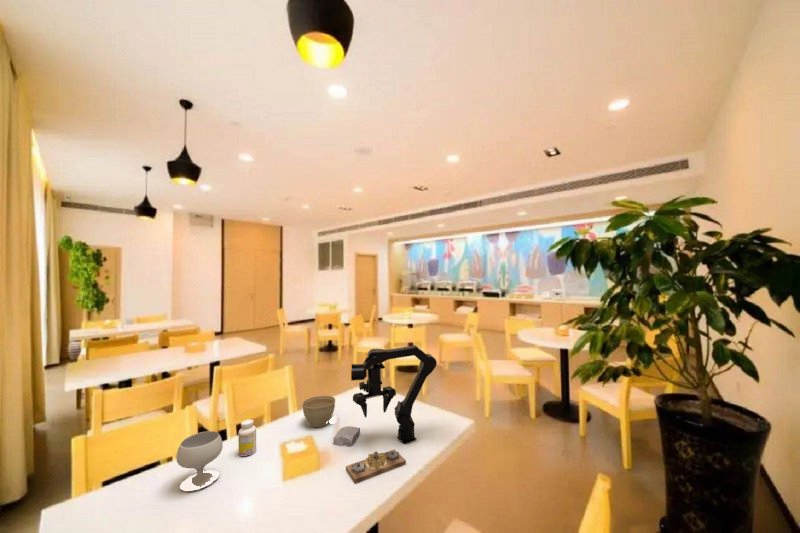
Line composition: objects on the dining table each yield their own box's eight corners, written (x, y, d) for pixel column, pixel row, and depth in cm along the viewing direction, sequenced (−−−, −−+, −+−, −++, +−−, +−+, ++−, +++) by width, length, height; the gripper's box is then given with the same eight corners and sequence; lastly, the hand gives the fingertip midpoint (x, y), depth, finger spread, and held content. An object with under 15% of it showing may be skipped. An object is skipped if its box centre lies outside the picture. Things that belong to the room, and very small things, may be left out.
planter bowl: (342, 420, 155) (342, 398, 155) (318, 434, 141) (317, 410, 141) (320, 413, 163) (320, 393, 164) (295, 426, 150) (295, 403, 150)
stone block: (332, 450, 131) (353, 447, 129) (330, 438, 132) (351, 435, 130) (342, 437, 143) (362, 434, 141) (340, 426, 143) (360, 423, 142)
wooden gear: (380, 455, 120) (380, 450, 120) (389, 464, 114) (388, 458, 114) (363, 461, 116) (363, 455, 116) (371, 470, 110) (371, 465, 110)
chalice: (172, 500, 100) (172, 453, 100) (180, 476, 112) (180, 435, 113) (221, 486, 106) (221, 442, 107) (223, 465, 119) (223, 426, 119)
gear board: (394, 453, 124) (394, 439, 125) (405, 464, 117) (405, 449, 117) (345, 470, 114) (345, 455, 114) (354, 483, 106) (354, 467, 106)
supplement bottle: (246, 447, 131) (246, 417, 131) (259, 449, 129) (259, 418, 130) (234, 456, 124) (234, 424, 125) (248, 458, 123) (248, 426, 123)
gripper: (384, 370, 146) (385, 403, 145) (348, 377, 136) (348, 413, 135) (396, 376, 136) (396, 412, 135) (357, 384, 127) (358, 422, 126)
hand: (375, 414), depth 133 cm, fingers open, 9 cm apart
